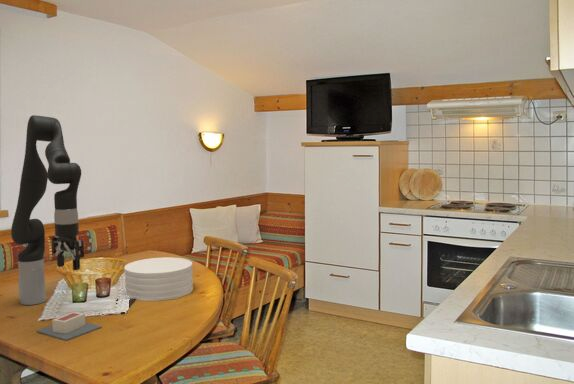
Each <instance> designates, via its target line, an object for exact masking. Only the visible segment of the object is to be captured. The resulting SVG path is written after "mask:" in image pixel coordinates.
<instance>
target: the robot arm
mask: <svg viewBox="0 0 574 384" xmlns="http://www.w3.org/2000/svg"><path fill="white" fill-rule="evenodd" d="M63 135H64V134H63V130H62V126H61V123H60V121H59V120H58V119H57V118H56V117H52V116H51V117H50V116H44V115H35V114H34V115H31V116H29V119H28V122H27V126H26V139H25V152H24V159H23V165H22V169H21V170H22V171H21V175H20V176H21V177H20V182H19V191H18V199H17V204H16V209H15V212H14V216H13V220H12V223H11V230H10V235H11V239H12V241H13V243H14V244H16V245H27V246H26V247H25V248H24V249H23V250H22V251H20V252H19V253H18V254H17V265H18V266H17V267H18V280H17V281H18V283H17V284H18V298H19V302H20V304H21V305H24V306H33V305H38V304H42V303H44V302H46V301H47V296H46V295H47V294H46V277H45V261H44V259H45V257H44V255H45V249H46V246H45V245H46V244H45V241H46V239H45V237H46V234H45V226H44V224H43V221H41V220H40V219H38V218H31V216H32V212H33V210H34V209H35V208H36V206H37V205H38V204H39V202H40V201H41V199H42V198H43V197H44V195H45V193H46V191H47V185H48V181H49V182H50V183H51V184H53V185H63V184H64V185H65V184H66V185H67V184H69V185H68V187H67V188H64V189H63V190H59V191H56V192H55V193H54V196H53V197H54V199H53V200H54V212H53V213H54V217H53V218H54V235H55V236H52V237H51V253H52V254H53V255H55V257H56V264H57V267H58V268H62V267H64V266H65V256H64V254H65V253H66V252H67V253H68V255H70V256H71V258H72V271H79V270H80V269H81V268H80V267H81V262H80V261H81V259H82V258H84V257H85V249H84V248H85V247H84V246H85V245H84V240H83V239H79V240H78V239H77V236H78V235H79V234H80V230H79V228H80V225H79V212H78V199H77V198H78V189H79V185H80V183H81V178H82V169H81V166H80V165H79V164H78V163H76V162H71V158H70V156H69V153H68V151H67V150H66V147H65V141H64V136H63ZM38 141H39V142H40V141H41V142H48V144H47V145H46V147H45V149H44V150H45V151H44V153H45V154H44V155H45V158H46V160H47V165H48V168H46V167H45V166H46V165H45V164H44V162H43V161H42V159H41V157H40V154H39V153H38V150H37V149H38V147H37V142H38Z"/></svg>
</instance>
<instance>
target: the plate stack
mask: <svg viewBox="0 0 574 384" xmlns="http://www.w3.org/2000/svg"><path fill="white" fill-rule="evenodd" d="M123 270H124V278H125V279H124V284H125V285H124V289H125V293H126V294H125V296H126V295H127V296H129V297H130V298H129V297H128V298H129V299H136V301H144V302H145V301H147V302H153V301H156V302H157V301H167V300H172V299H173V300H174V299H177V298H181V297H184V296H187V295H189V294H190V293H192V292H193V291H194V285H193V284H194V278H193V277H194V276H193V270H194V269H193V262H192V261H191V260H189V259H187V258H181V257H167V256H166V257H150V258H145V259H144V258H143V259H139V260H135V261H131V262H129V263H127V264H126V265H125V266H124V269H123ZM127 296H126V297H127Z"/></svg>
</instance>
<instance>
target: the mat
mask: <svg viewBox="0 0 574 384" xmlns="http://www.w3.org/2000/svg"><path fill="white" fill-rule="evenodd" d="M102 328H103V327H102V325H99V324H95V323H91V322H88V321H85V325H84V326H82V327H80V328H78V329H75V330H73V331H71V332H68V333H66V334H63V333H58V332H53V325H48V326H45V327H43V328H40V329H37V330H35V333H38V334H41V335H45V336H49V337H51V338H56V339H59V340H62V341H65V342H68V341H70V340H73V339H75V338H78V337H81V336H83V335H86V334H89V333H91V332H94V331H96V330H100V329H102Z"/></svg>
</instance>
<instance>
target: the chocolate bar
mask: <svg viewBox="0 0 574 384" xmlns="http://www.w3.org/2000/svg"><path fill="white" fill-rule="evenodd" d="M116 299H117V300H116V301H118V299H119V298H116ZM129 299H130V300H129V309H130V308H131V307H132V305H133V304H134V303H135V302H136V301H137V300H136V299H131V298H129ZM116 304H117V303H116ZM124 313H125V312H115V313H105V314H124ZM99 314H100V312H99ZM125 314H126V313H125ZM125 314H124V315H125Z"/></svg>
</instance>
